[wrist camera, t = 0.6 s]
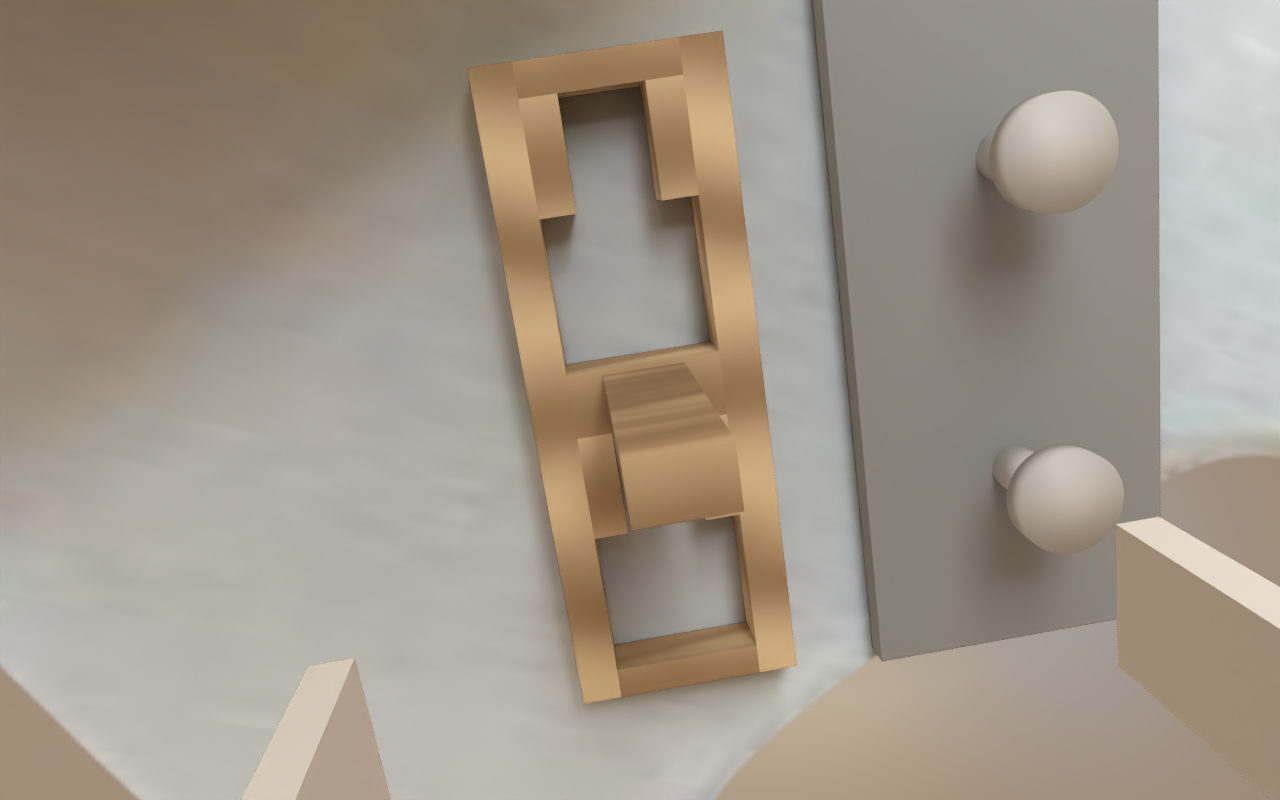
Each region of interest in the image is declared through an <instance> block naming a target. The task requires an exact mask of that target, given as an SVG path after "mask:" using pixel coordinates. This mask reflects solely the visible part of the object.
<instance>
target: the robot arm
mask: <svg viewBox="0 0 1280 800" xmlns="http://www.w3.org/2000/svg"><path fill="white" fill-rule="evenodd" d="M1116 561H1117V625H1118V626H1117V627H1118V666H1120V668H1122V669H1123V670H1124V671H1125V672H1126V673H1127V674H1128V675H1129V676H1131V677H1132V678H1133V679H1134V680H1135V681H1136V682H1137V683H1139V684H1140V685H1141V686H1142V687H1143V688H1144V689H1145V690H1146V691H1147V692H1149V693H1150V694H1151V695H1152V696H1153V697H1154V698H1155V699H1156V700H1158V701H1159V702H1160V703H1161V704H1162V705H1163V706H1164V707H1166V708H1167V709H1168V710H1169V711H1170V712H1171V713H1172V714H1173V715H1174V716H1176V717H1177V718H1178V719H1179V720H1180V721H1181V722H1182V723H1183V724H1185V725H1186V726H1187V727H1188V728H1189V729H1190V730H1191V731H1193V732H1194V733H1195V734H1196V735H1197V736H1198V737H1199V738H1200V739H1202V740H1203V741H1204V742H1205V743H1206V744H1207V745H1208V746H1209V747H1210V748H1212V749H1213V750H1214V751H1215V752H1216V753H1217V754H1218V755H1220V756H1221V757H1222V758H1223V759H1224V760H1225V761H1226V762H1227V763H1229V764H1230V765H1231V766H1232V767H1233V768H1234V769H1235V770H1236V771H1238V772H1239V773H1240V774H1241V775H1242V776H1243V777H1244V778H1245V779H1246V780H1248V781H1249V782H1250V783H1251V784H1252V785H1253V786H1254V787H1256V788H1257V789H1258V790H1259V791H1260V792H1261V793H1262V794H1263V795H1265V796H1266V797H1267V798H1268V799H1269V800H1280V587H1279V586H1277V585H1275V584H1274V583H1272V582H1270V581H1268V580H1267V579H1265V578H1263V577H1262V576H1260V575H1258V574H1256V573H1255V572H1253V571H1251V570H1249V569H1248V568H1246V567H1244V566H1243V565H1241V564H1239V563H1237V562H1236V561H1234V560H1232V559H1231V558H1229V557H1227V556H1225V555H1224V554H1222V553H1220V552H1218V551H1217V550H1215V549H1213V548H1211V547H1210V546H1208V545H1206V544H1205V543H1203V542H1201V541H1199V540H1198V539H1196V538H1194V537H1192V536H1191V535H1189V534H1187V533H1186V532H1184V531H1182V530H1181V529H1179V528H1177V527H1175V526H1174V525H1172V524H1170V523H1168V522H1167V521H1165V520H1163V519H1162V518H1160V517H1155V518H1149V519H1143V520H1137V521H1132V522H1126V523H1120V524H1116ZM241 800H390V795H389V791H388V787H387V783H386V779H385V775H384V771H383V767H382V763H381V759H380V755H379V752H378V748H377V744H376V740H375V736H374V732H373V728H372V724H371V720H370V716H369V712H368V708H367V705H366V701H365V697H364V693H363V689H362V685H361V681H360V677H359V673H358V669H357V665H356V661H355V658H352V659H347V660H341V661H335V662H330V663H324V664H318V665H313V666H308V668H307V670H306V672H305V674H304V676H303V678H302V680H301V682H300V684H299V686H298V688H297V690H296V692H295V694H294V696H293V698H292V700H291V702H290V703H289V705H288V707H287V709H286V711H285V713H284V715H283V717H282V719H281V721H280V723H279V725H278V727H277V729H276V731H275V733H274V735H273V737H272V739H271V741H270V743H269V745H268V747H267V749H266V751H265V753H264V755H263V757H262V759H261V761H260V763H259V765H258V767H257V769H256V771H255V773H254V775H253V777H252V779H251V781H250V783H249V785H248V787H247V788H246V790H245V792H244V794H243V796H242V798H241Z"/></svg>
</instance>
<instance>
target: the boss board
mask: <svg viewBox="0 0 1280 800" xmlns="http://www.w3.org/2000/svg"><path fill="white" fill-rule="evenodd" d="M812 2H813V13H814V23H815V34H816V45H817V56H818V66H819V77H820V88H821V99H822V110H823V120H824V131H825V142H826V153H827V163H828V174H829V185H830V196H831V206H832V217H833V228H834V239H835V249H836V260H837V271H838V282H839V292H840V303H841V314H842V325H843V335H844V346H845V357H846V368H847V379H848V389H849V400H850V411H851V422H852V432H853V443H854V454H855V465H856V475H857V486H858V497H859V508H860V518H861V529H862V540H863V551H864V561H865V572H866V583H867V594H868V604H869V615H870V626H871V637H872V647H873V648H874V650H875V651H876V653H877V655H878V656H879V658H880V659H881V661H886V660H892V659H898V658H904V657H909V656H915V655H920V654H926V653H931V652H937V651H943V650H948V649H954V648H959V647H965V646H970V645H976V644H981V643H987V642H992V641H998V640H1004V639H1009V638H1015V637H1020V636H1025V635H1031V634H1037V633H1043V632H1048V631H1053V630H1059V629H1064V628H1070V627H1076V626H1081V625H1087V624H1093V623H1098V622H1103V621H1109V620H1114V619H1117V561H1116V524H1120V523H1126V522H1132V521H1137V520H1143V519H1149V518H1155V517H1160V514H1161V513H1160V302H1159V92H1158V0H812ZM1160 518H1161V517H1160Z"/></svg>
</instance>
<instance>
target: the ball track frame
mask: <svg viewBox="0 0 1280 800" xmlns="http://www.w3.org/2000/svg"><path fill="white" fill-rule="evenodd" d="M467 71H468V76H469V82H470V87H471V93H472V98H473V103H474V109H475V114H476V120H477V125H478V131H479V136H480V141H481V147H482V152H483V158H484V163H485V169H486V174H487V179H488V185H489V190H490V196H491V201H492V207H493V212H494V217H495V223H496V228H497V234H498V239H499V245H500V250H501V255H502V261H503V266H504V272H505V277H506V283H507V288H508V293H509V299H510V304H511V310H512V315H513V321H514V326H515V331H516V337H517V342H518V348H519V353H520V359H521V364H522V369H523V375H524V380H525V386H526V391H527V397H528V402H529V407H530V413H531V418H532V424H533V429H534V435H535V440H536V445H537V451H538V456H539V462H540V467H541V473H542V478H543V483H544V489H545V494H546V500H547V505H548V511H549V516H550V521H551V527H552V532H553V538H554V543H555V549H556V554H557V559H558V565H559V570H560V576H561V581H562V587H563V592H564V597H565V603H566V608H567V614H568V619H569V625H570V630H571V635H572V641H573V646H574V652H575V657H576V663H577V668H578V673H579V679H580V684H581V690H582V695H583V701H584V704H586V703H592V702H597V701H603V700H608V699H614V698H620V697H625V696H631V695H636V694H642V693H647V692H653V691H659V690H664V689H670V688H675V687H681V686H686V685H692V684H698V683H703V682H709V681H714V680H720V679H725V678H731V677H737V676H742V675H748V674H753V673H759V672H764V671H770V670H776V669H781V668H787V667H792V666H797V664H796V655H795V647H794V638H793V629H792V621H791V612H790V604H789V595H788V587H787V578H786V569H785V561H784V552H783V544H782V535H781V527H780V518H779V510H778V501H777V492H776V484H775V475H774V467H773V458H772V450H771V441H770V432H769V424H768V415H767V407H766V398H765V390H764V381H763V372H762V364H761V355H760V347H759V338H758V330H757V321H756V312H755V304H754V295H753V287H752V278H751V270H750V261H749V253H748V244H747V235H746V227H745V218H744V210H743V201H742V193H741V184H740V175H739V167H738V158H737V150H736V141H735V133H734V124H733V115H732V107H731V98H730V90H729V81H728V73H727V64H726V55H725V47H724V38H723V31H717V32H710V33H703V34H696V35H689V36H682V37H676V38H669V39H662V40H655V41H648V42H641V43H634V44H628V45H621V46H614V47H607V48H600V49H593V50H587V51H580V52H573V53H566V54H559V55H552V56H546V57H539V58H532V59H525V60H518V61H511V62H505V63H498V64H491V65H484V66H477V67H470V68H467ZM636 86H640V87H641V95H642V102H643V109H644V116H645V123H646V130H647V137H648V145H649V152H650V159H651V166H652V173H653V180H654V188H655V195H656V199H658V200H662V201H663V200H669V199H676V198H682V197H689V196H691V199H692V207H693V214H694V222H695V230H696V237H697V245H698V253H699V260H700V268H701V276H702V283H703V291H704V299H705V306H706V314H707V322H708V329H709V337H710V342H704V343H698V344H691V345H685V346H679V347H673V348H667V349H661V350H654V351H648V352H642V353H636V354H630V355H624V356H617V357H611V358H605V359H599V360H593V361H587V362H580V363H574V364H568V365H566V362H565V357H564V351H563V345H562V339H561V333H560V327H559V322H558V316H557V310H556V304H555V298H554V293H553V287H552V281H551V275H550V269H549V263H548V258H547V252H546V246H545V240H544V234H543V229H542V223H541V219H546V218H553V217H559V216H566V215H572V214H576V207H575V201H574V195H573V189H572V183H571V177H570V170H569V164H568V158H567V152H566V146H565V140H564V133H563V127H562V121H561V115H560V109H559V102H558V98H562V97H569V96H576V95H583V94H589V93H596V92H603V91H609V90H616V89H623V88H630V87H636ZM612 434H613V436H612ZM613 439H614V442H613ZM614 444H615V448H614ZM615 449H616V455H617V460H618V465H619V470H620V475H621V480H622V485H623V490H624V495H625V500H626V505H627V510H628V515H629V520H630V525H631V530H632V531H633V530H639V529H645V528H651V527H656V526H662V525H668V524H674V523H680V522H686V521H692V520H697V519H703V518H705V519H706V520H710V519H716V518H722V517H728V516H733V521H734V529H735V537H736V544H737V552H738V560H739V567H740V575H741V583H742V590H743V598H744V606H745V613H746V621H747V622H742V623H736V624H730V625H725V626H719V627H713V628H708V629H702V630H696V631H691V632H685V633H679V634H674V635H668V636H662V637H657V638H651V639H645V640H640V641H634V642H628V643H623V644H617V645H614V642H613V636H612V630H611V624H610V619H609V613H608V607H607V601H606V595H605V589H604V584H603V578H602V572H601V566H600V560H599V555H598V549H597V543H596V539H599V538H605V537H611V536H617V535H623V534H628V529H627V522H626V516H625V510H624V504H623V498H622V492H621V485H620V479H619V473H618V467H617V461H616V455H615Z"/></svg>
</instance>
